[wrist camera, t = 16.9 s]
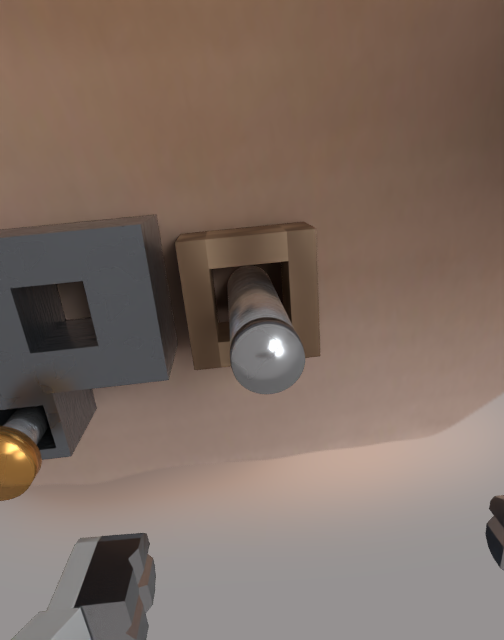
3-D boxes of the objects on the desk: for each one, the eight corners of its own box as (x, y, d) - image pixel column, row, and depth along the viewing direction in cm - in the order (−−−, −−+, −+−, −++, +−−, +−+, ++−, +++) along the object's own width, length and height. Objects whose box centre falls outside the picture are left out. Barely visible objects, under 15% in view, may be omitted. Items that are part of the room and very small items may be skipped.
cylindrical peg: (270, 262, 30) (304, 322, 18) (273, 306, 31) (307, 390, 19) (224, 267, 30) (226, 330, 18) (229, 311, 31) (234, 399, 19)
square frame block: (303, 221, 29) (316, 228, 25) (308, 335, 32) (320, 356, 28) (180, 233, 29) (174, 242, 25) (197, 347, 32) (194, 370, 28)
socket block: (156, 214, 28) (140, 224, 22) (187, 398, 33) (180, 443, 28) (-24, 231, 28) (-87, 246, 22) (35, 415, 33) (-3, 465, 27)
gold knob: (62, 380, 28) (20, 434, 22) (77, 432, 29) (41, 495, 24) (-2, 387, 28) (-61, 443, 22) (16, 439, 29) (-34, 504, 23)
